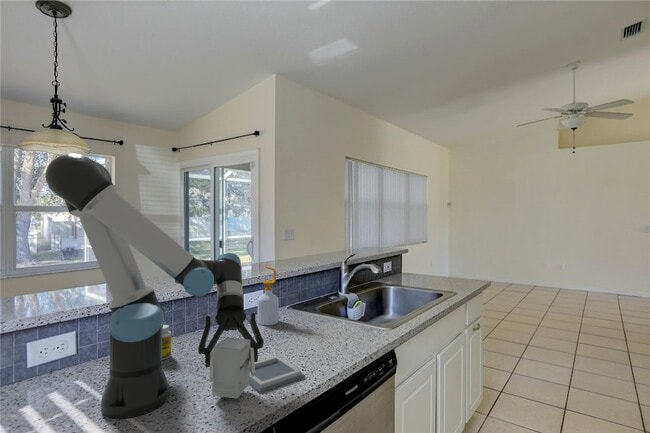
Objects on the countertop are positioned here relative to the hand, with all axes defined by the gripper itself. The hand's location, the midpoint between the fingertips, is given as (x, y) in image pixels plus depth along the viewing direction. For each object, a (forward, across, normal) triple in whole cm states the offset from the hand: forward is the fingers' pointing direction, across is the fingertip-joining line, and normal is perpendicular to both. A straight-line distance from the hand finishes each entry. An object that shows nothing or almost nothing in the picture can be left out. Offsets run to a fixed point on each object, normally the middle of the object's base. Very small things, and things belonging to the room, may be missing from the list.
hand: (232, 376), depth 89 cm
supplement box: (+1, 0, -6) cm, 6 cm away
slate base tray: (-4, -12, -13) cm, 18 cm away
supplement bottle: (-19, +20, -29) cm, 40 cm away
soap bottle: (-38, -20, -47) cm, 64 cm away
